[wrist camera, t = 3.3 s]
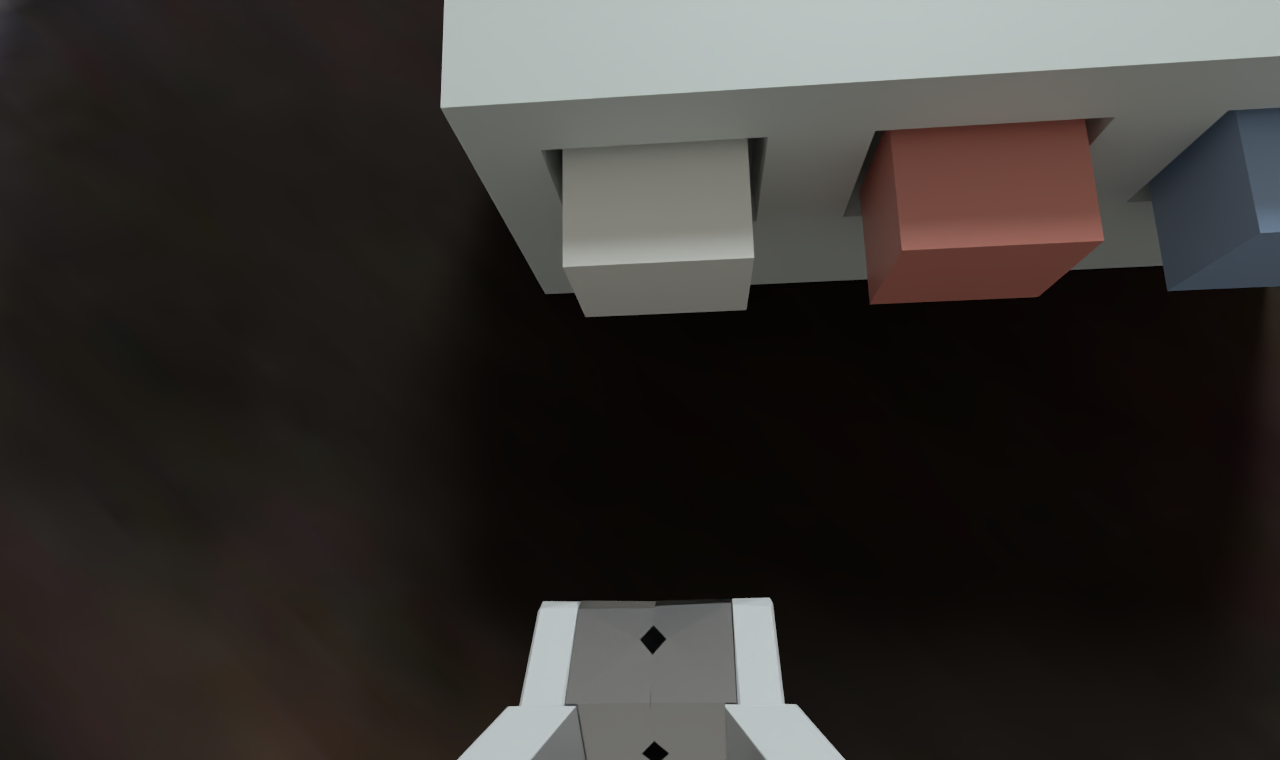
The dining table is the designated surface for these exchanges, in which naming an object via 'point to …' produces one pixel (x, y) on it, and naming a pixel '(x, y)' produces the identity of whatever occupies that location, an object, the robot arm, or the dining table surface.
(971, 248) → the red key
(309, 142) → the dining table surface
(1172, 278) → the blue key
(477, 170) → the key console
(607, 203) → the white key
